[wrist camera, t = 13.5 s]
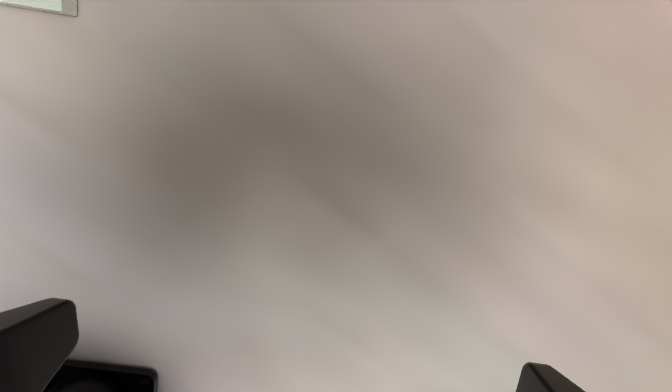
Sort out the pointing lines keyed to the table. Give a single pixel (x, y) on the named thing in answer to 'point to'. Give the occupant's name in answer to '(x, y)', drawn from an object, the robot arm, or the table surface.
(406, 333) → the table surface
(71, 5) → the pin tray
